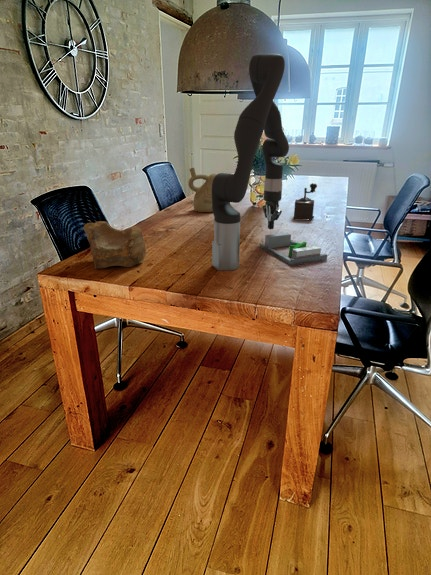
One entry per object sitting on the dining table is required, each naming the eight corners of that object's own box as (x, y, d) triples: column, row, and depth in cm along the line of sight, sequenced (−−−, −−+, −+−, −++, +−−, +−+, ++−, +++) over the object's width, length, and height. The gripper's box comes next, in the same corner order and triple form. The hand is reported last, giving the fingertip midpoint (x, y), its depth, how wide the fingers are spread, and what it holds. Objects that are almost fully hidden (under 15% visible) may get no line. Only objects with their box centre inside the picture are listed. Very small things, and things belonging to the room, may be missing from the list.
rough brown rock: (71, 271, 137) (64, 232, 130) (94, 253, 151) (89, 217, 144) (131, 279, 133) (127, 239, 125) (149, 260, 147) (146, 223, 140)
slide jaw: (268, 248, 160) (268, 237, 158) (264, 246, 163) (265, 235, 161) (290, 245, 164) (291, 234, 162) (286, 243, 167) (287, 232, 165)
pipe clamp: (297, 251, 158) (298, 240, 157) (305, 252, 157) (306, 242, 155) (285, 258, 150) (286, 246, 148) (294, 259, 148) (295, 248, 146)
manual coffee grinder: (313, 220, 206) (317, 187, 199) (293, 219, 209) (296, 186, 201) (313, 214, 220) (317, 182, 213) (294, 213, 222) (297, 182, 215)
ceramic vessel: (224, 212, 222) (225, 168, 212) (191, 214, 218) (190, 169, 208) (217, 207, 238) (217, 165, 227) (186, 208, 233) (185, 166, 223)
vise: (292, 265, 141) (293, 253, 139) (259, 247, 162) (260, 235, 160) (326, 260, 147) (328, 248, 145) (291, 243, 168) (292, 232, 166)
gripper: (257, 187, 164) (255, 226, 172) (273, 192, 153) (270, 233, 161) (272, 186, 167) (270, 224, 174) (289, 191, 156) (286, 231, 163)
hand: (270, 228), depth 167 cm, fingers closed
